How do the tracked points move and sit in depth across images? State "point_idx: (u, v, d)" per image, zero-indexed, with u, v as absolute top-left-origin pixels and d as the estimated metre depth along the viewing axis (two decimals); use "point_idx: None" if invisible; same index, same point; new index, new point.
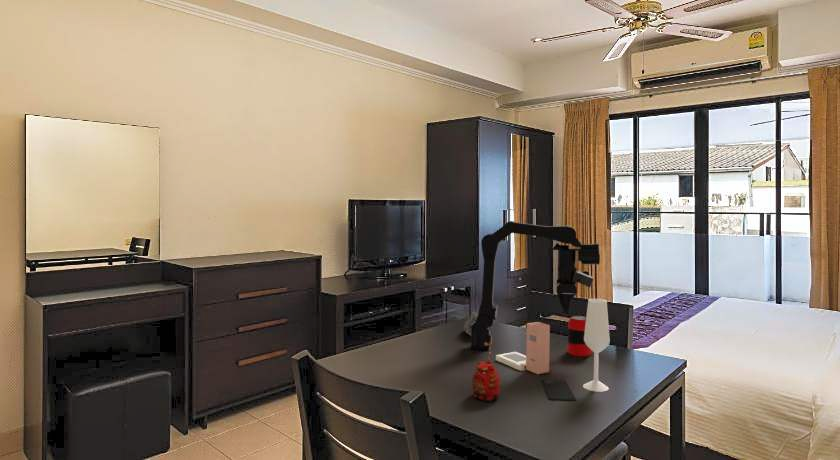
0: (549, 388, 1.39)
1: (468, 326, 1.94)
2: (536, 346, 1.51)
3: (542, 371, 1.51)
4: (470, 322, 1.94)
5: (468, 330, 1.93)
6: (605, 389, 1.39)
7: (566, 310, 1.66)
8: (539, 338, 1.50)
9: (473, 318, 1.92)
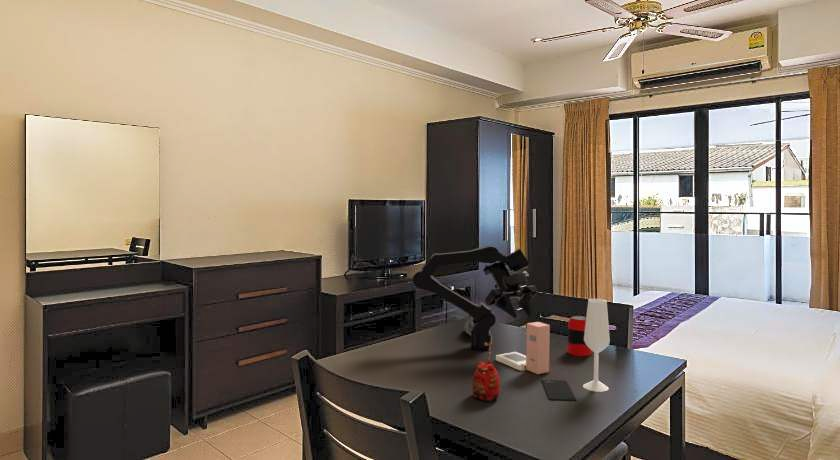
0: (549, 388, 1.39)
1: (468, 326, 1.94)
2: (536, 346, 1.51)
3: (542, 371, 1.51)
4: (470, 322, 1.94)
5: (468, 330, 1.93)
6: (605, 389, 1.39)
7: (513, 314, 1.66)
8: (539, 338, 1.50)
9: (473, 318, 1.92)
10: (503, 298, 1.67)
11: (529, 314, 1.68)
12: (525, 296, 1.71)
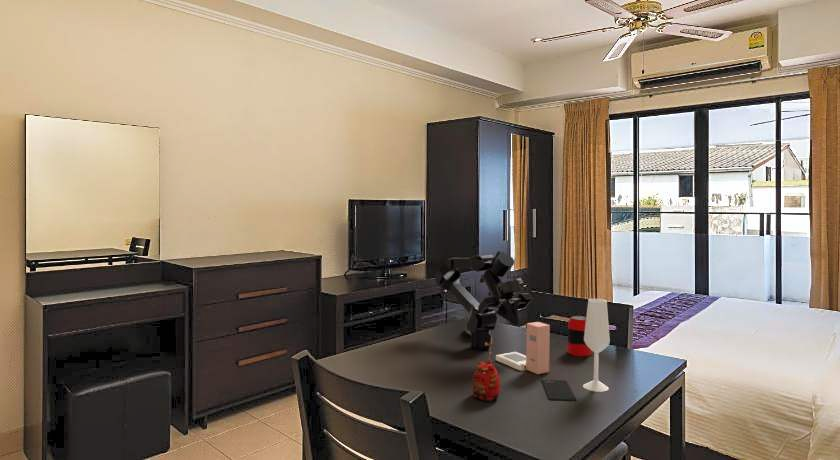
0: (549, 388, 1.39)
1: None
2: (536, 346, 1.51)
3: (542, 371, 1.51)
4: None
5: (468, 330, 1.93)
6: (605, 389, 1.39)
7: (514, 322, 1.62)
8: (539, 338, 1.50)
9: None
10: (504, 306, 1.63)
11: None
12: (513, 305, 1.64)
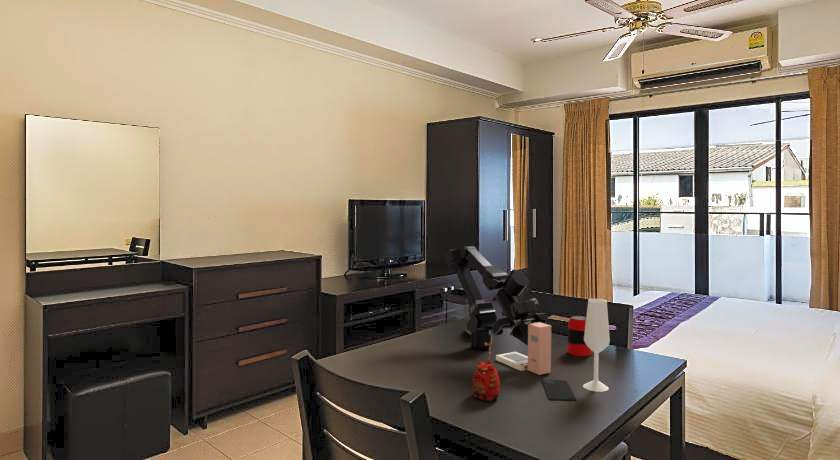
0: (549, 388, 1.39)
1: None
2: (537, 347, 1.50)
3: (543, 372, 1.51)
4: None
5: None
6: (605, 389, 1.39)
7: None
8: (541, 339, 1.50)
9: None
10: (518, 327, 1.56)
11: None
12: None
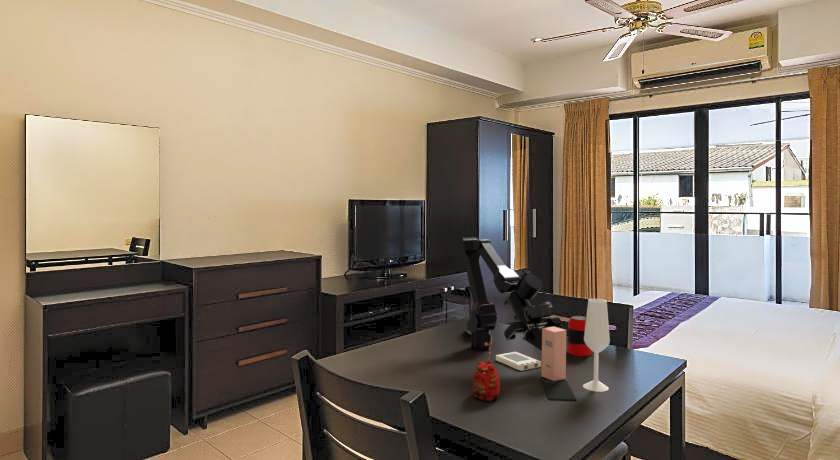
0: (549, 388, 1.39)
1: None
2: (552, 352, 1.45)
3: (558, 378, 1.45)
4: None
5: None
6: (605, 389, 1.39)
7: None
8: (555, 344, 1.44)
9: None
10: (532, 331, 1.51)
11: None
12: (541, 330, 1.53)
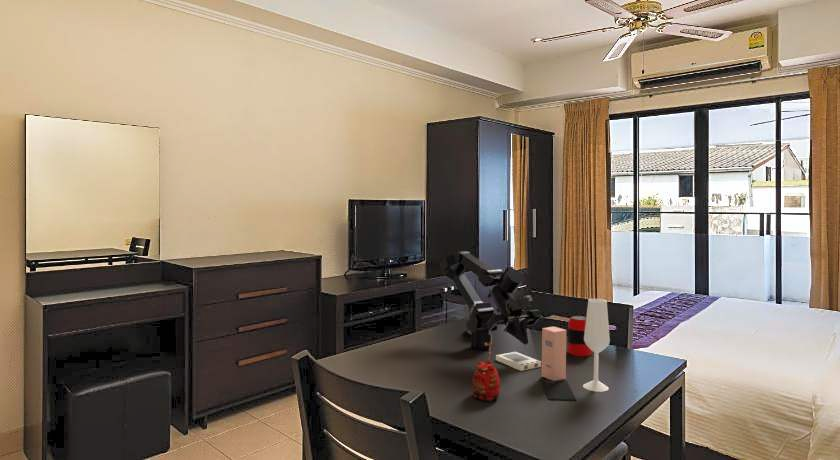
0: (549, 388, 1.39)
1: None
2: (552, 352, 1.45)
3: (558, 378, 1.45)
4: None
5: None
6: (605, 389, 1.39)
7: (523, 341, 1.58)
8: (556, 344, 1.44)
9: None
10: (512, 323, 1.59)
11: None
12: (522, 322, 1.61)
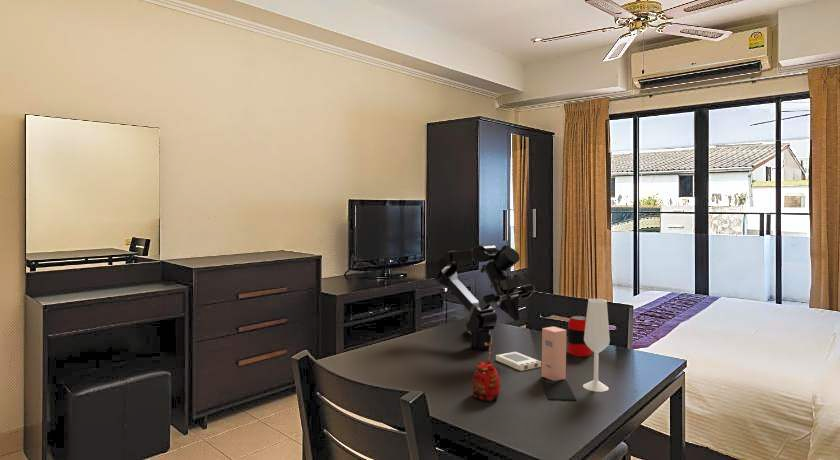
0: (549, 388, 1.39)
1: None
2: (552, 352, 1.45)
3: (558, 378, 1.45)
4: None
5: None
6: (605, 389, 1.39)
7: (514, 318, 1.64)
8: (556, 344, 1.44)
9: None
10: (503, 302, 1.64)
11: None
12: (513, 300, 1.66)
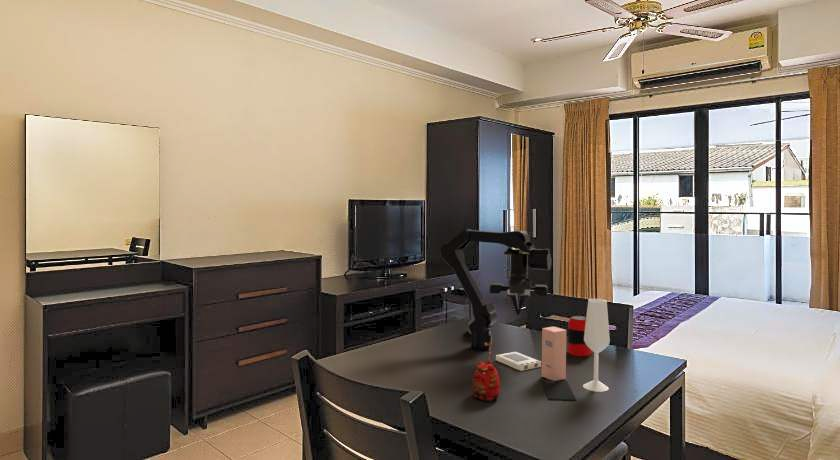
0: (549, 388, 1.39)
1: None
2: (552, 352, 1.45)
3: (558, 378, 1.45)
4: None
5: None
6: (605, 389, 1.39)
7: (516, 311, 1.72)
8: (556, 344, 1.44)
9: None
10: None
11: None
12: (520, 297, 1.70)
